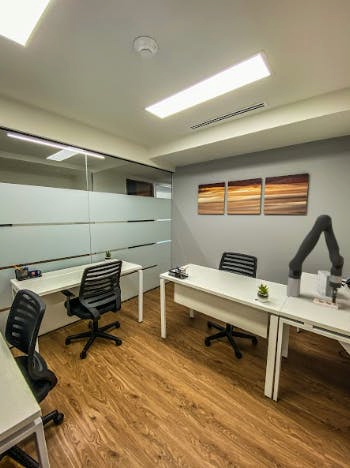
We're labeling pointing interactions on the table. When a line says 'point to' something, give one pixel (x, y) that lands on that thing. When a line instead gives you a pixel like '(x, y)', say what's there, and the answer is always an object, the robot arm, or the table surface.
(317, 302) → the power strip
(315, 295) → the table surface
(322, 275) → the hard drive box
